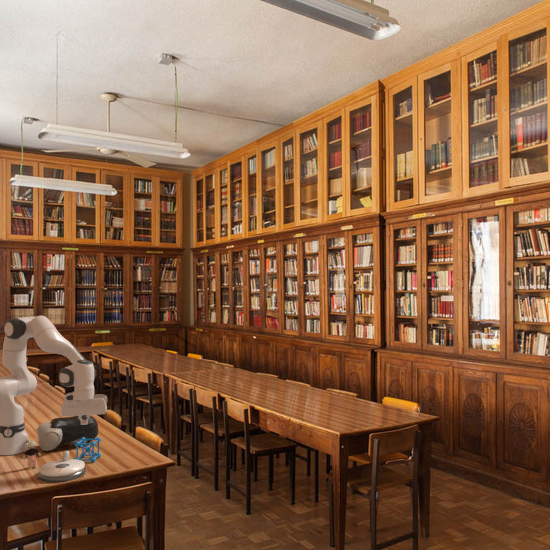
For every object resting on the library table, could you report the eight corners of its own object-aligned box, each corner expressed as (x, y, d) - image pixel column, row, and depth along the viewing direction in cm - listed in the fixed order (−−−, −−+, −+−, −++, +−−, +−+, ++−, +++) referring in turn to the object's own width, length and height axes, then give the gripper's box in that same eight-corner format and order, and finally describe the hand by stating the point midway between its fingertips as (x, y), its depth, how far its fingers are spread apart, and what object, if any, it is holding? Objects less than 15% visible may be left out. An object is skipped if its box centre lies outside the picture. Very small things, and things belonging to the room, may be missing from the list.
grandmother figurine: (37, 465, 249) (37, 438, 250) (41, 467, 247) (41, 440, 247) (21, 469, 243) (21, 442, 244) (24, 471, 241) (24, 443, 241)
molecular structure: (101, 456, 262) (101, 436, 263) (94, 463, 252) (94, 442, 253) (81, 456, 262) (81, 436, 263) (73, 463, 252) (74, 442, 253)
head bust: (44, 461, 262) (104, 444, 279) (40, 427, 262) (101, 412, 279) (36, 450, 280) (93, 435, 297) (33, 419, 279) (90, 405, 296)
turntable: (45, 463, 245) (45, 451, 245) (87, 461, 248) (88, 449, 248) (34, 478, 226) (34, 465, 226) (80, 475, 230) (80, 462, 230)
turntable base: (44, 468, 245) (44, 463, 245) (89, 465, 249) (89, 461, 249) (32, 483, 226) (32, 479, 226) (81, 480, 229) (81, 476, 229)
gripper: (108, 392, 252) (108, 421, 251) (63, 394, 248) (63, 423, 247) (106, 395, 245) (106, 424, 245) (60, 397, 242) (60, 427, 241)
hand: (84, 424), depth 246 cm, fingers closed
